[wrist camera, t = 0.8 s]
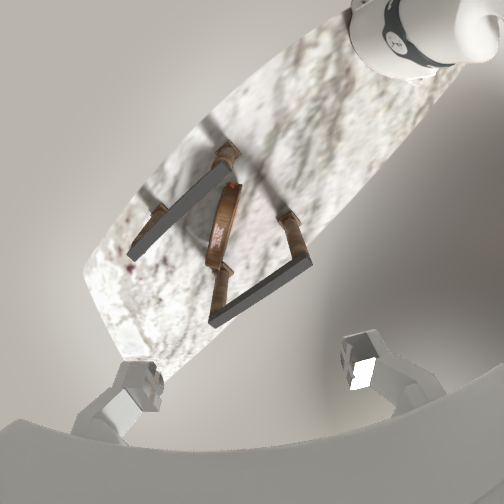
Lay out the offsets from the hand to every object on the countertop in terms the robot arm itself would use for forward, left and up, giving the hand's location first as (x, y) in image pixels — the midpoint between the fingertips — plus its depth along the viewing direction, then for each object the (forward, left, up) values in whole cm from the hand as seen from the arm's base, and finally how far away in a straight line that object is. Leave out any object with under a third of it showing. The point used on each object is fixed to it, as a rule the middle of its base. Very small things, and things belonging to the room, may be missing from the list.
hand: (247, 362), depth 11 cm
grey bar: (+9, -4, -25) cm, 26 cm away
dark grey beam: (+9, +12, -25) cm, 29 cm away
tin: (+9, +4, -38) cm, 39 cm away
